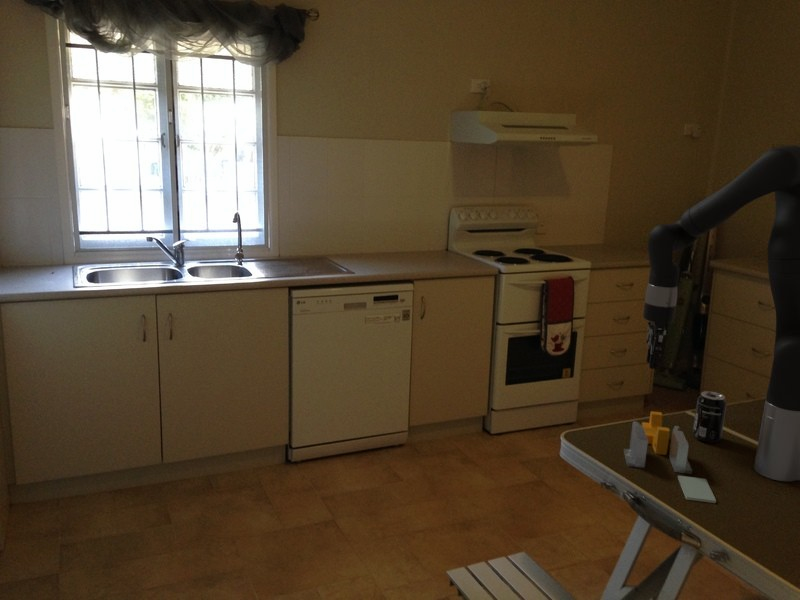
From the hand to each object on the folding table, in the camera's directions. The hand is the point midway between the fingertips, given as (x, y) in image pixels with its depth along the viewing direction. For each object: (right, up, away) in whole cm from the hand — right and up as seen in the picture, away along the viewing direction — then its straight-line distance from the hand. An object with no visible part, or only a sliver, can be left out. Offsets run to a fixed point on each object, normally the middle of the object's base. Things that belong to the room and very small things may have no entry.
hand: (652, 365), depth 187 cm
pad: (-1, -25, -29) cm, 38 cm away
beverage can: (+13, -19, -2) cm, 23 cm away
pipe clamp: (-2, -20, -6) cm, 21 cm away
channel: (-4, -21, -15) cm, 26 cm away
